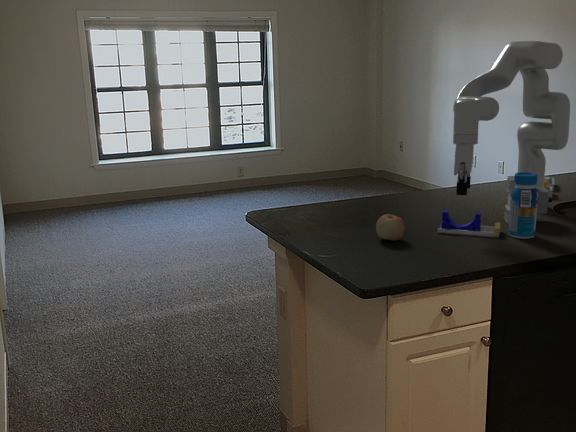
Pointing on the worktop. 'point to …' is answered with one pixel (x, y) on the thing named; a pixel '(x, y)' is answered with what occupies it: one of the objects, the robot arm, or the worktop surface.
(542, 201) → the circuit breaker
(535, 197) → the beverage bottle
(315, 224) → the worktop surface
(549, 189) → the clamp tray
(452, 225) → the blue plastic bracket
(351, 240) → the worktop surface
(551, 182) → the cup tray
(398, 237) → the apple
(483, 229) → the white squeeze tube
